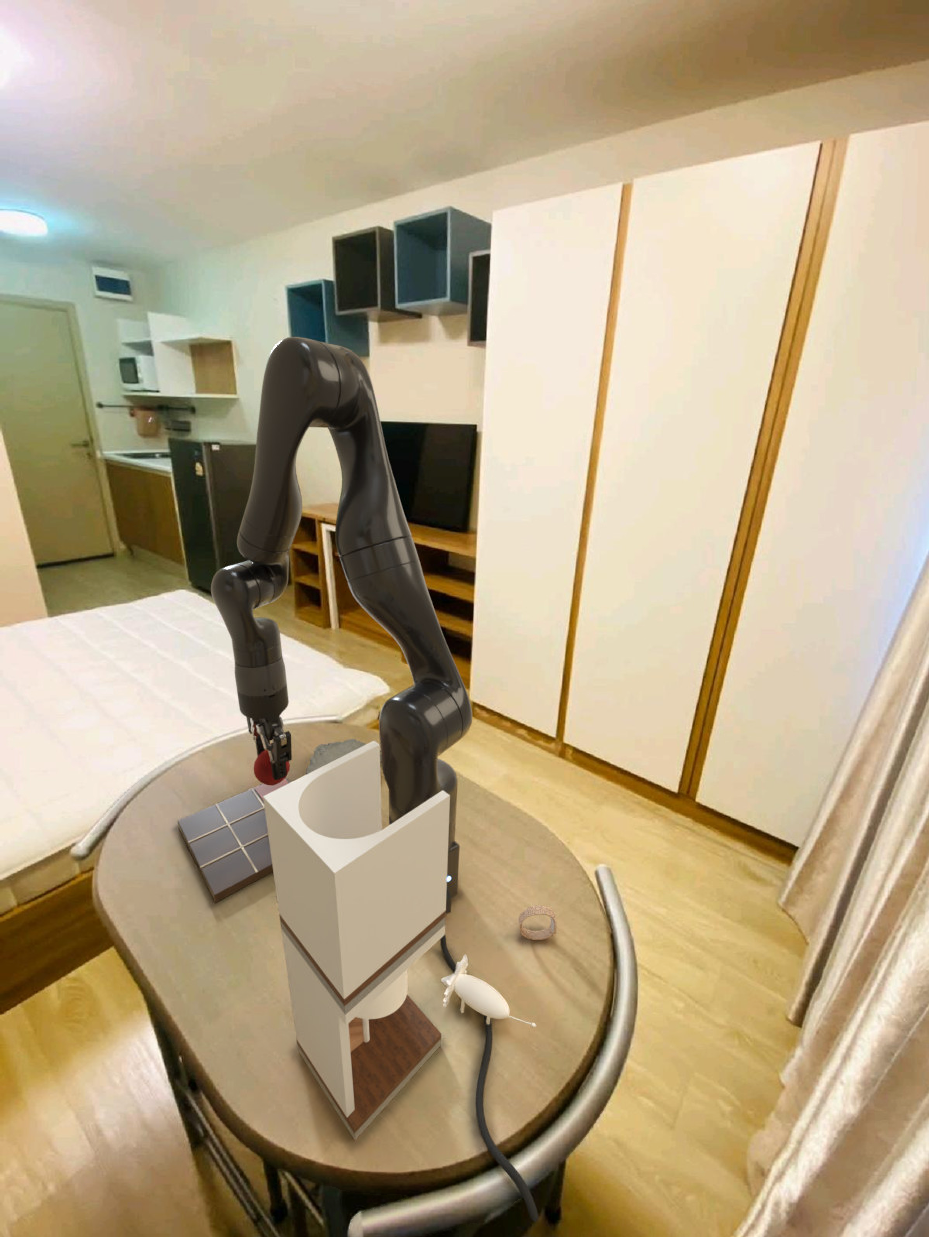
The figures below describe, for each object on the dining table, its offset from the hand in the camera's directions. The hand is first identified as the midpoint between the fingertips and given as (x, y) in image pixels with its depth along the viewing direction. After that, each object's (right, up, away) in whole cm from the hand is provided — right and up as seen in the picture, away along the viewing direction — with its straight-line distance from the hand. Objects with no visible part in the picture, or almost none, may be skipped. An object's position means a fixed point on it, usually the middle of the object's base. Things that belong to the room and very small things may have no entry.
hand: (272, 767), depth 90 cm
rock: (+11, -4, +9) cm, 15 cm away
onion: (0, -4, +1) cm, 4 cm away
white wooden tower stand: (+23, -22, -32) cm, 45 cm away
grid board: (-1, -9, -5) cm, 11 cm away
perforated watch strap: (+43, -17, -20) cm, 50 cm away
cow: (+36, -21, -29) cm, 51 cm away
